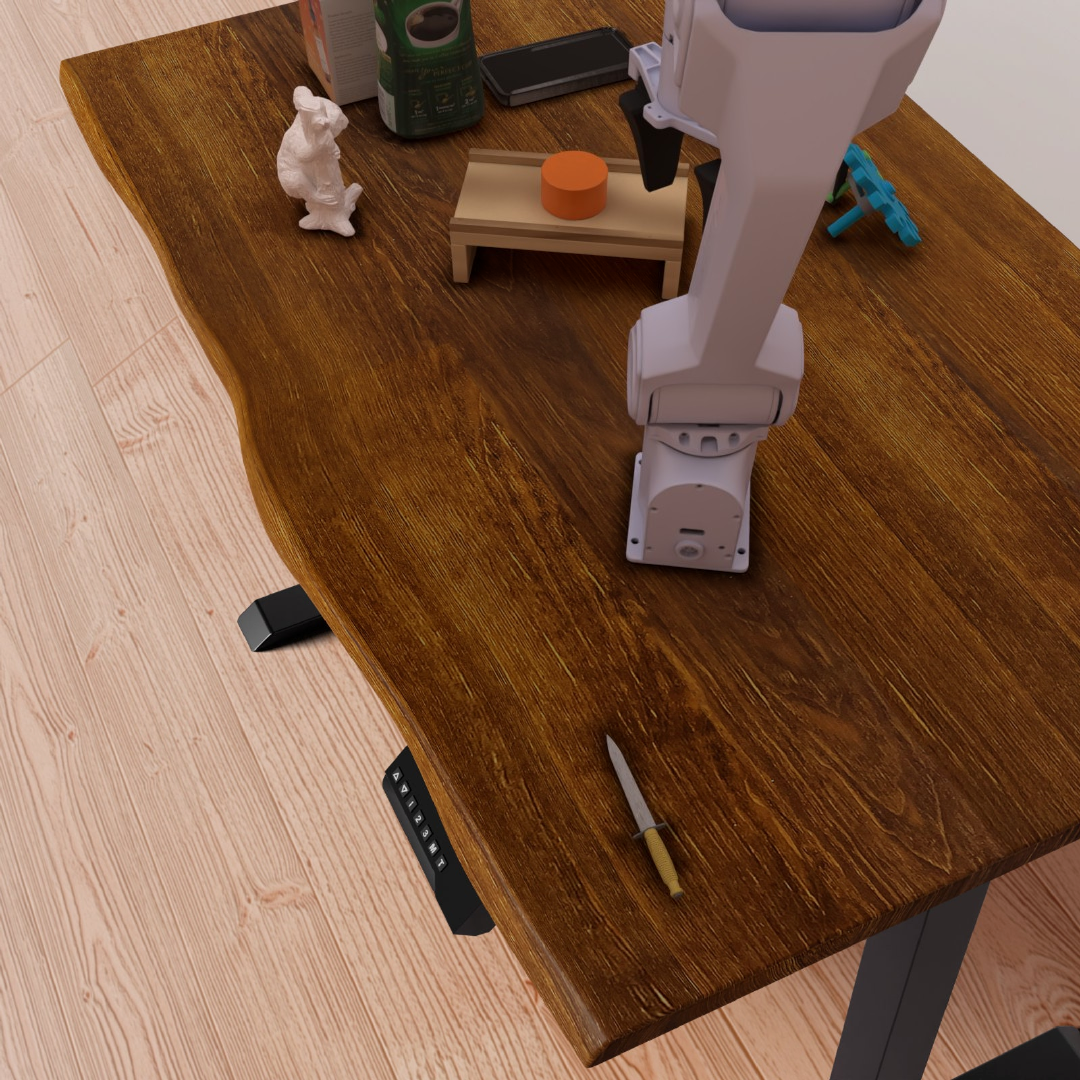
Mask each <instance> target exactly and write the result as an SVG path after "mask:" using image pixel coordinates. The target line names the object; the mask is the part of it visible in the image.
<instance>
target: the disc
mask: <svg viewBox="0 0 1080 1080" xmlns="http://www.w3.org/2000/svg"><path fill="white" fill-rule="evenodd" d="M554 154H555V155H553V156H551V157H549V158H548V159H547V160H546V161H545V162H544V163H543V165H542V168H541V202H542V205H543V207H544V208H545V210H546V211H547V212H549V213H550V214H552V215H554V216H556V217H558V218H562V219H566V220H582V219H587V218H590V217H593V216H595V215H597V214H598V213H600V212H601V211H602V210H603V209H604V207H605V205H606V202H607V184H608V168H607V165H606V164H605V162H604V161H603V160H602V159H601V158H599V157H600V156H598V155H596V154H594V153H592V152H588V151H584V150H565V151H561V152H558V153H554Z"/></svg>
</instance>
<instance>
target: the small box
mask: <svg viewBox="0 0 1080 1080" xmlns="http://www.w3.org/2000/svg"><path fill="white" fill-rule="evenodd" d="M297 1H298V2H297V3H298V7H299V8H298V9H299V13H300V20H301V27H302V32H303V38H304V44H305V51H306V57H307V63H308V66H309V68H310V69H311V71H312V72H313V73H314V75H315V76H316V78H317V80H318V81H319V82H320V85H321V86H322V87H323V89H324V91H325V92H326V94H327V96H328V97H329V100H330V101H332V102H333V103H335V104H336V105H338V106H339V107H341V106H344V105H348V104H352V103H355V102H360V101H364V100H369V99H372V98H376V97H378V86H377V42H376V23H375V13H374V5H373V0H297Z"/></svg>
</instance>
